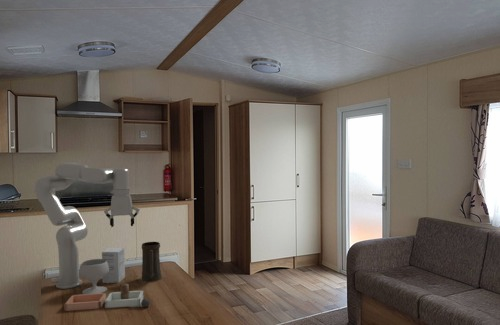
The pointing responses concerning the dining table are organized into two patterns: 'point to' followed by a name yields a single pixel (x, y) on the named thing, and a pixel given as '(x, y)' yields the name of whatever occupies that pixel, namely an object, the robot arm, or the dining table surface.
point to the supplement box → (114, 265)
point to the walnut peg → (124, 291)
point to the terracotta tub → (85, 301)
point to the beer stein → (150, 261)
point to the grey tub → (116, 301)
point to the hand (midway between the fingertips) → (122, 226)
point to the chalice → (94, 274)
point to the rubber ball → (145, 302)
